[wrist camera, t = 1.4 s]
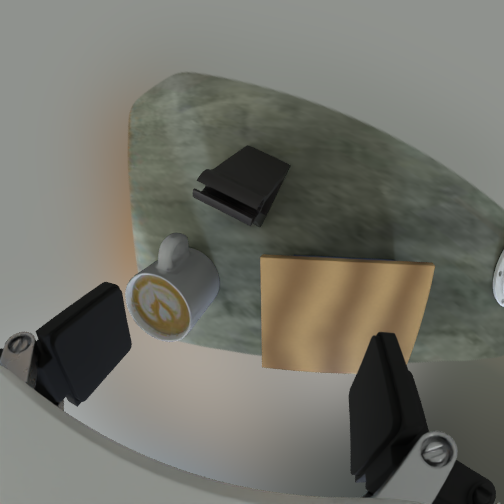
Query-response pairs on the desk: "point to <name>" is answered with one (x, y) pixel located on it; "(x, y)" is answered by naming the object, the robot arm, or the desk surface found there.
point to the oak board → (337, 309)
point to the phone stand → (243, 185)
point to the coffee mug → (172, 290)
